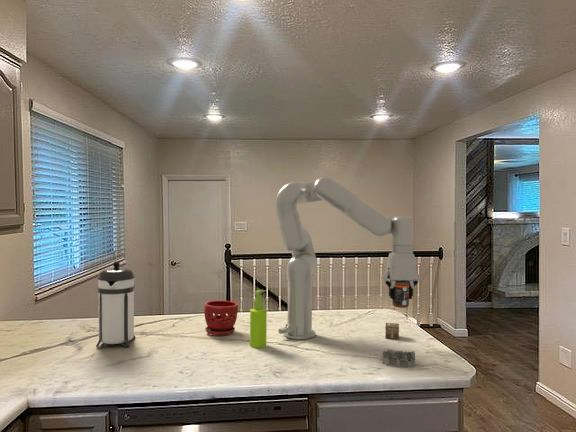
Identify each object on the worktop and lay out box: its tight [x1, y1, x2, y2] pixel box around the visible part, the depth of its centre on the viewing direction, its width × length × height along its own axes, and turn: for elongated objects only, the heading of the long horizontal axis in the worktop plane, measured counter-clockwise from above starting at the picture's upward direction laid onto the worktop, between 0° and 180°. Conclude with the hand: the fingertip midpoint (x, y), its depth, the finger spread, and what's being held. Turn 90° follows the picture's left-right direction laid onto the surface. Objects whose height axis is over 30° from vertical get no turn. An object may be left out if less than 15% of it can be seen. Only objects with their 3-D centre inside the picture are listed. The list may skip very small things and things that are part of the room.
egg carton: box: [381, 348, 416, 369], centre depth 151 cm, size 11×8×4 cm
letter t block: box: [384, 322, 400, 340], centre depth 179 cm, size 5×5×5 cm
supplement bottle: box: [391, 280, 410, 309], centre depth 170 cm, size 6×6×11 cm
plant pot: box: [203, 300, 239, 337], centre depth 183 cm, size 13×13×12 cm
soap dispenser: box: [249, 289, 268, 349], centre depth 167 cm, size 6×7×20 cm
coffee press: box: [95, 261, 136, 350], centre depth 168 cm, size 17×16×30 cm
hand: (400, 297), depth 170 cm, fingers closed on supplement bottle, 6 cm apart
